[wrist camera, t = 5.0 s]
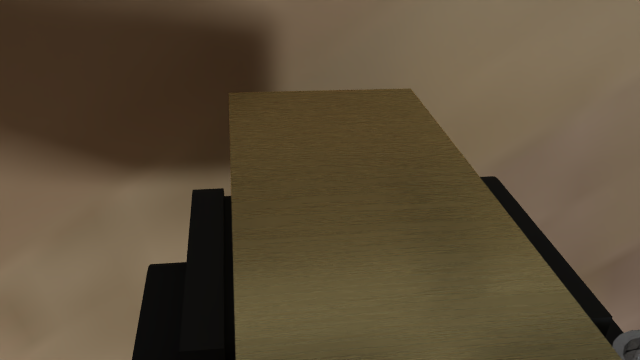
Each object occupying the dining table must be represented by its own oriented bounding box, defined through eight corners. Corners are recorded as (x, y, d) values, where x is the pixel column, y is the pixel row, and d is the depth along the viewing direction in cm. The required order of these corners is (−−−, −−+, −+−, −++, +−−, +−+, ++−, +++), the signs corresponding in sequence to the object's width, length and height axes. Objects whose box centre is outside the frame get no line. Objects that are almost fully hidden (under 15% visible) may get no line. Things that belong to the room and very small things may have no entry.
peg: (228, 92, 13) (242, 597, 4) (410, 88, 13) (754, 529, 5) (235, 247, 15) (255, 815, 6) (394, 238, 15) (620, 746, 7)
